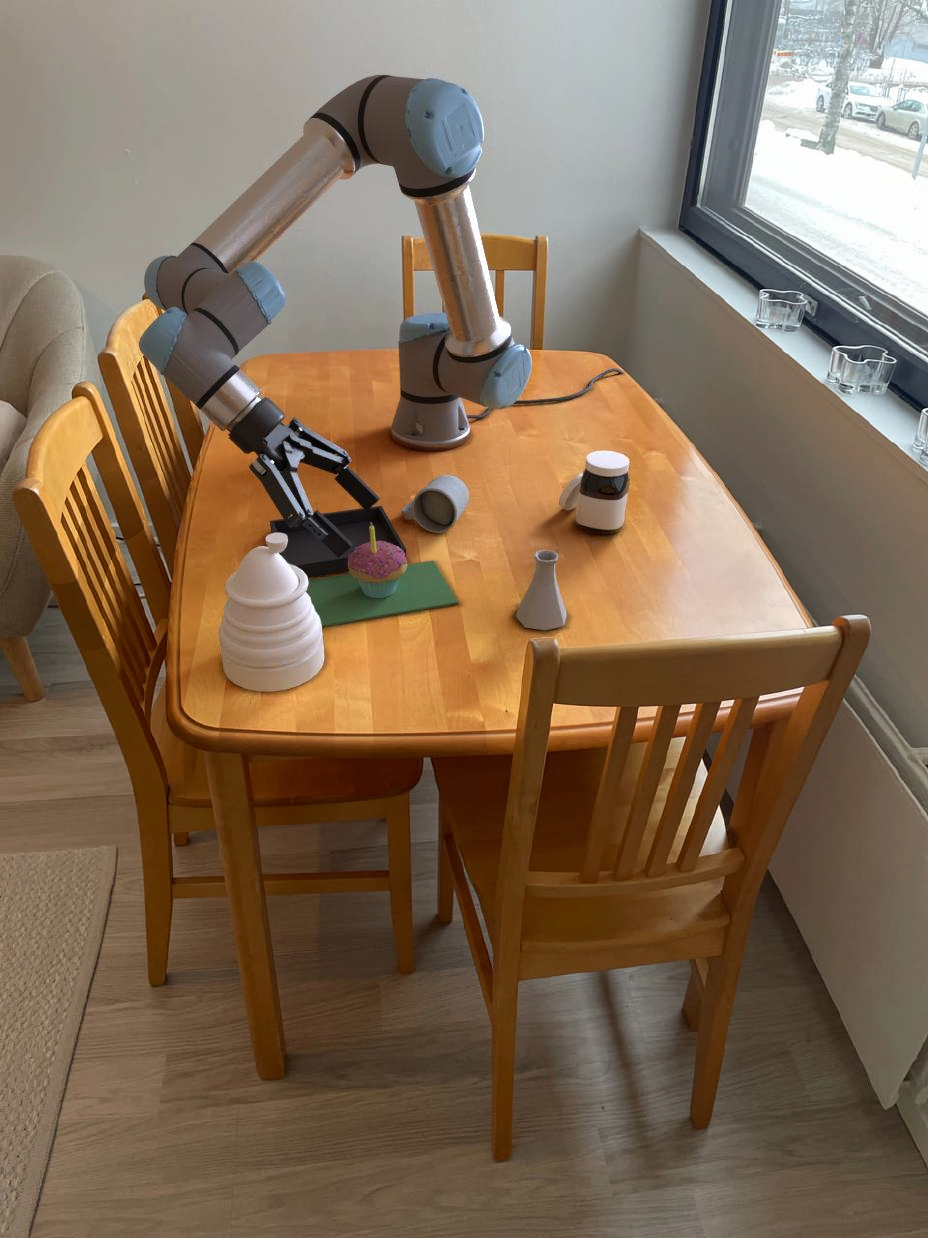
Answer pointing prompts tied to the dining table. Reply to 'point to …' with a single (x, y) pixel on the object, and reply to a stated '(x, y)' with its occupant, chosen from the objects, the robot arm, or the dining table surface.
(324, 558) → the baking pan
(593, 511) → the spread jar
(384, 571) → the cupcake
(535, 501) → the dining table surface
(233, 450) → the dining table surface
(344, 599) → the green cloth
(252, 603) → the honey pot
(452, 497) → the ceramic mug
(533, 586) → the flask
